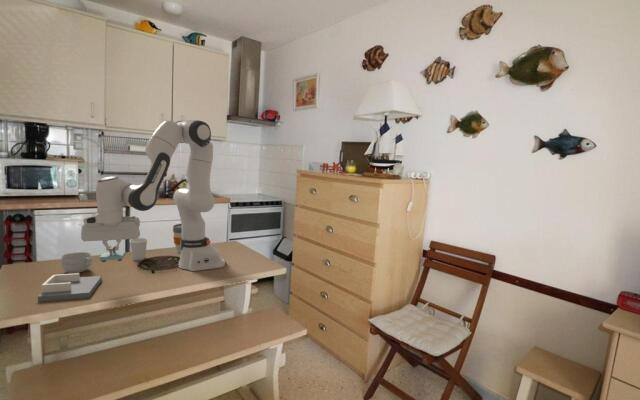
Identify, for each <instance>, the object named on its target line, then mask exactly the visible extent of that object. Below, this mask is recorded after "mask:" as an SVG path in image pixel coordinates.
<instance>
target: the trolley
mask: <svg viewBox="0 0 640 400" xmlns="http://www.w3.org/2000/svg"><path fill="white" fill-rule="evenodd" d="M114 245H115V244H112V245H111V247H110V249H109V251H107V252H106V251H105V252H103V253H101V255H100V256H99V261H100V262H102V263H105V262H107V261H113V260H114V261H115V260H117V262H121V261H123V259H124V258H125V256H126V251H123V250H122V251H117V250H114Z"/></svg>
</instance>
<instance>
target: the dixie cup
mask: <svg viewBox="0 0 640 400" xmlns="http://www.w3.org/2000/svg"><path fill="white" fill-rule="evenodd" d="M129 243H130V245H129V246H130V251H131V256H132V260H133V261H142V260H144V259H146V254H147V245H148V238H145V237H138V238H137V239H129Z"/></svg>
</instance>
